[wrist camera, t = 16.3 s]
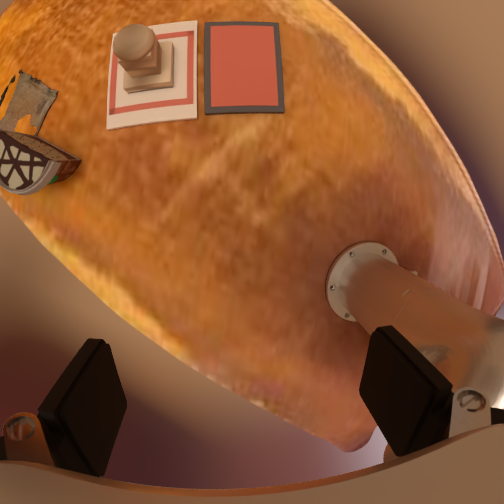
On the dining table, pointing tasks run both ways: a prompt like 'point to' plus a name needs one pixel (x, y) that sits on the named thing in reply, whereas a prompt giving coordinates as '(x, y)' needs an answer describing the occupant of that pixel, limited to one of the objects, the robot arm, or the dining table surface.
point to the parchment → (27, 102)
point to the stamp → (144, 59)
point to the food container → (32, 163)
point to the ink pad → (242, 68)
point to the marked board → (161, 100)
